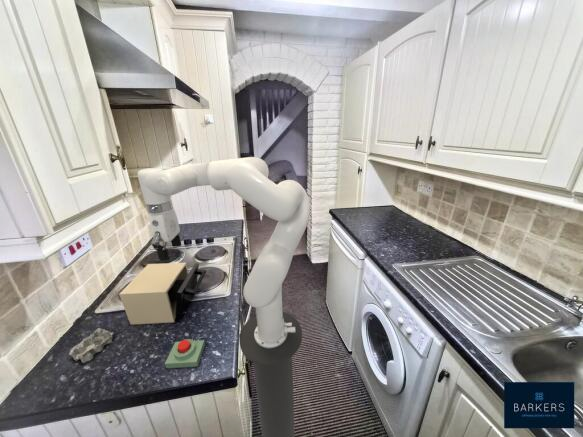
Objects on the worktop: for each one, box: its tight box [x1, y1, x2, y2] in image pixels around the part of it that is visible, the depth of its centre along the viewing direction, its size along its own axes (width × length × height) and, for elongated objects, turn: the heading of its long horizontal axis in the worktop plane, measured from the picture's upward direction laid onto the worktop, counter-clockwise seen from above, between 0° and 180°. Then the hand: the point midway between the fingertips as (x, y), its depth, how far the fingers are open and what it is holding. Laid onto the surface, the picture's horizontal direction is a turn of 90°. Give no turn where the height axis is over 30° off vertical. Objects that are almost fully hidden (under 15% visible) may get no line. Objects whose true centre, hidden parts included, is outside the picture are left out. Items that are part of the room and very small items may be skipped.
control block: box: [164, 338, 206, 369], centre depth 76 cm, size 10×8×4 cm
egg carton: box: [68, 327, 114, 364], centre depth 80 cm, size 11×8×4 cm
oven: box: [118, 262, 190, 325], centre depth 97 cm, size 17×20×15 cm
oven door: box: [174, 262, 207, 323], centre depth 98 cm, size 6×20×15 cm, turn 3°
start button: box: [178, 339, 190, 353], centre depth 75 cm, size 4×4×2 cm
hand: (171, 252), depth 81 cm, fingers open, 9 cm apart
